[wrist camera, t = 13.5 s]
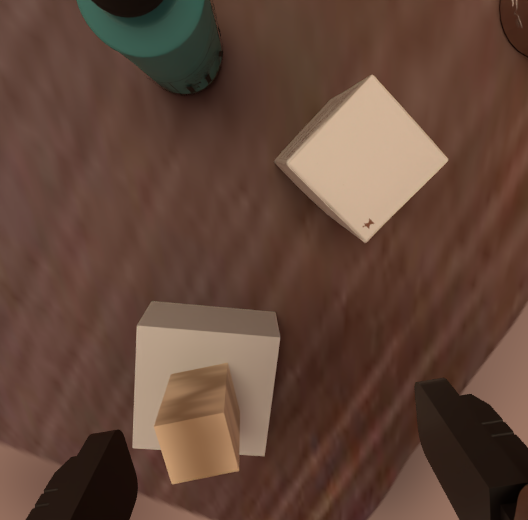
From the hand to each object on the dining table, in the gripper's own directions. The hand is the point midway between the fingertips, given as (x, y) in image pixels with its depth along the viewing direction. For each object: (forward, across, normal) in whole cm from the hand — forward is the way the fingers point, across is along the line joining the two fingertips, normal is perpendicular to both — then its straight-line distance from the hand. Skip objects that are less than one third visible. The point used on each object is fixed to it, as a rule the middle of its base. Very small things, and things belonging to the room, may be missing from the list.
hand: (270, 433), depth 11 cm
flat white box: (+28, +8, +12) cm, 32 cm away
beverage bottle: (+28, +4, -15) cm, 33 cm away
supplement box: (+29, -7, -5) cm, 30 cm away
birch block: (+22, +7, +12) cm, 27 cm away
